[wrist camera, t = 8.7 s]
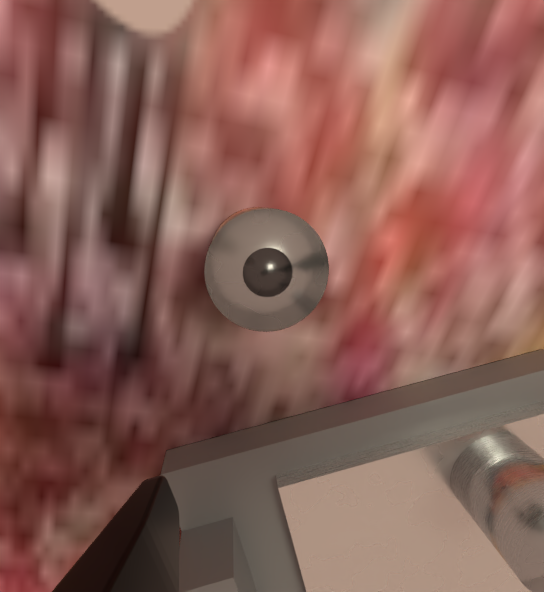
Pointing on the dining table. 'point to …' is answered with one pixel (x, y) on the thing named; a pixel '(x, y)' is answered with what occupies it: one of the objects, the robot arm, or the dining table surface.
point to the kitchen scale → (354, 491)
